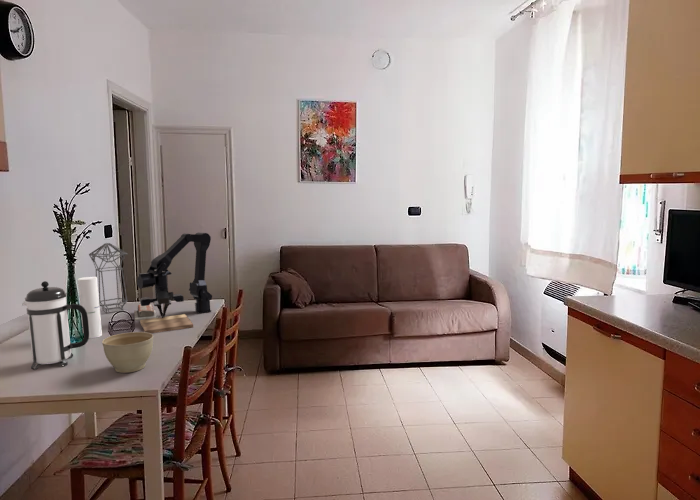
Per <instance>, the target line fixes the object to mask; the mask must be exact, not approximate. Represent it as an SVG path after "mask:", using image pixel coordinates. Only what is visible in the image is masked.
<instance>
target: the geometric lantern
mask: <svg viewBox="0 0 700 500" xmlns="http://www.w3.org/2000/svg"><path fill="white" fill-rule="evenodd" d="M110 247H111V248H112V249H113V250H114V251H111V248H110ZM117 253H119V254H117ZM126 255H129V254H128V253H127V252H126V251H124V250H123V249H121V248H119V247H117V246H116V245H113V243H110V242H106V243H103V244H102V245H101V246H98V248H96V249H95V250H93V251H92V252H90V253H88V256H89V257H90V259H91V261H92V263H93V265H94V268H95V277H97V278H98V294H99V306H100V307H101V310H102V311H103V312H104V313H106V314H112V313H118V312H117V311H118V310H115V311H110V310H112V309H120V310H123V311H124V306H125V305H127V303H128V298H127V290H126V284H125V278H124V268H123V267H122V262H123V260H124V259H125V258H126V257H125V256H126ZM114 257H116V258H114ZM96 258H98V259H99V260H101V263H100V265H98V264H97V262H96ZM111 258H112V260H111ZM119 258H120V262H119V265H118V264H117V262H116V260H118V259H119ZM103 262H105V263H104V265H103V266H102V264H103ZM108 263H111V264H112V265H113V266H108V267H107V270H105V269H106V267H105V266H106V264H108ZM112 268H115V277H116V278H115V279H116V289H117V292H116V293H117V294H116V295H117V298H110V299H106V297H105V288H104V287H105V286H104V278H103V272H110V271H112V272H113V271H114V269H112ZM121 275H122V277H121ZM118 277H119V279H118ZM118 280H119V281H118ZM118 282H119V283H118ZM122 282H123V283H122ZM101 284H102V294H103V300H101ZM119 284H120V289H121V297H119ZM124 296H125V297H124ZM114 300H117V301H116V302H115V303H108V304H106V302H109V301H114ZM119 300H121V301H120V302H119ZM102 302H103V303H102ZM111 306H115V307H111Z"/></svg>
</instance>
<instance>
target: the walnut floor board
mask: <svg viewBox="0 0 700 500" xmlns="http://www.w3.org/2000/svg"><path fill="white" fill-rule="evenodd" d="M141 327H142V330H143V332H147V333H151V334H156V333H157V334H158V333H164V332H170V331H179V330H184V329H190V328H192V329H193V328H194V323H193V322H192V321H191V319H190V318H189V317H188V316H187V317H186V318H178V319H171V320H163V321H156V322H148V323H142V325H141Z"/></svg>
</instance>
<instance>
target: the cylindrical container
mask: <svg viewBox="0 0 700 500" xmlns="http://www.w3.org/2000/svg"><path fill="white" fill-rule="evenodd" d="M77 282H78V283H77V284H78V292H79V293H78V294H79V302H80V303H79V305H81V306H83V307H84V308H85V310H86V312H87V316H88V324H89V339H95V338H99V337H101V336H103V333H102V329H103V328H102V320H101V308H100V307H101V306H99V282H98V276H97V277H96V276H83V277H80V278H77ZM80 316H81V318H82V315H81V314H80ZM81 326H82V327H83V322H82V321H81Z"/></svg>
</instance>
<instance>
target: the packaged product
mask: <svg viewBox="0 0 700 500" xmlns="http://www.w3.org/2000/svg"><path fill="white" fill-rule="evenodd" d="M133 313H134V315H133V316H134V321H135V322H140V320H144V319H152V318H158V315H157V312H156V309H154V307H153V304H152V303H150V305H147V306H141V304H138V305H137V310H134V311H133Z"/></svg>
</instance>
